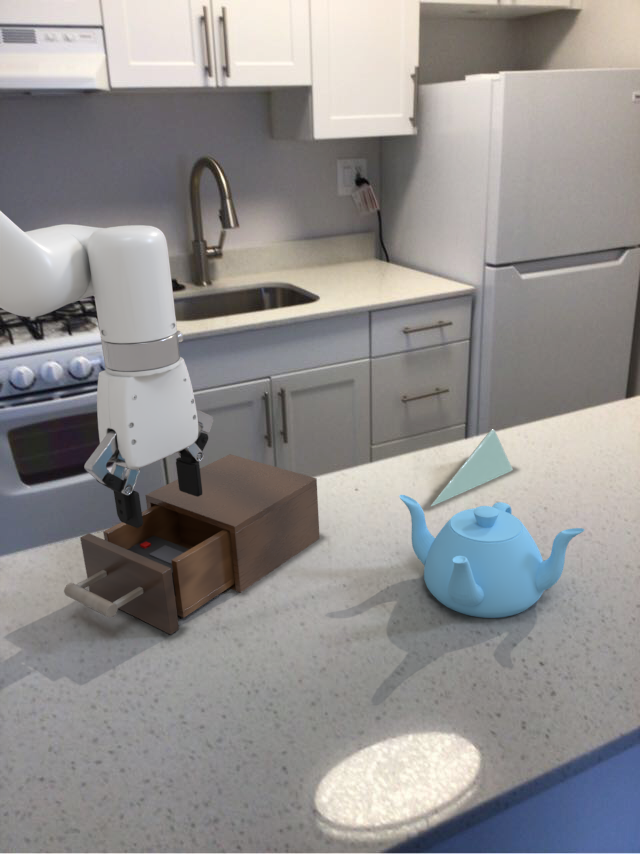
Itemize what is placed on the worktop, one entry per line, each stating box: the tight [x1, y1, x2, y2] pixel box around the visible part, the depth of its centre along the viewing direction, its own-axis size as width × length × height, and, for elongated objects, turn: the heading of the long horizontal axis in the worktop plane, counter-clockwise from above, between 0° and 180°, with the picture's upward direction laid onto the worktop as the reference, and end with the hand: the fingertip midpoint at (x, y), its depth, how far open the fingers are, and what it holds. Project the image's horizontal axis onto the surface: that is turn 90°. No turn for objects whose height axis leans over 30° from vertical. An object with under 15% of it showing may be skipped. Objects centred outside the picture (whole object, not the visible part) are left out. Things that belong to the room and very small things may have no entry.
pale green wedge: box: [429, 428, 514, 507], centre depth 107 cm, size 8×6×18 cm
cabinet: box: [145, 453, 321, 594], centre depth 93 cm, size 15×15×9 cm
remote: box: [127, 535, 189, 596], centre depth 85 cm, size 4×10×3 cm, turn 53°
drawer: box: [63, 505, 235, 635], centre depth 83 cm, size 18×13×7 cm
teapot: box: [398, 494, 585, 619], centre depth 82 cm, size 15×15×10 cm
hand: (162, 507), depth 83 cm, fingers open, 8 cm apart
